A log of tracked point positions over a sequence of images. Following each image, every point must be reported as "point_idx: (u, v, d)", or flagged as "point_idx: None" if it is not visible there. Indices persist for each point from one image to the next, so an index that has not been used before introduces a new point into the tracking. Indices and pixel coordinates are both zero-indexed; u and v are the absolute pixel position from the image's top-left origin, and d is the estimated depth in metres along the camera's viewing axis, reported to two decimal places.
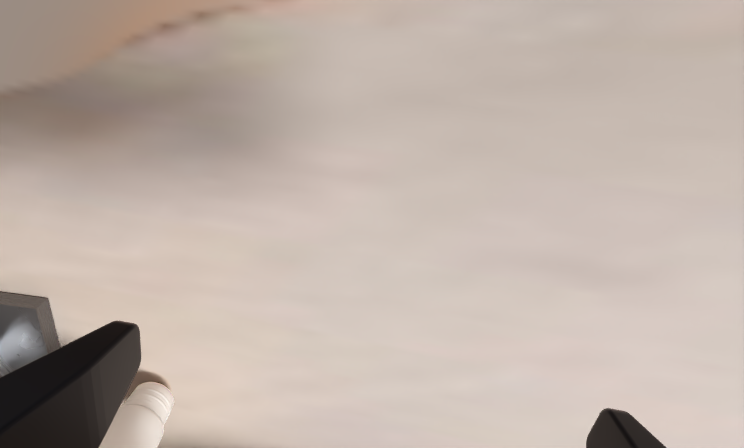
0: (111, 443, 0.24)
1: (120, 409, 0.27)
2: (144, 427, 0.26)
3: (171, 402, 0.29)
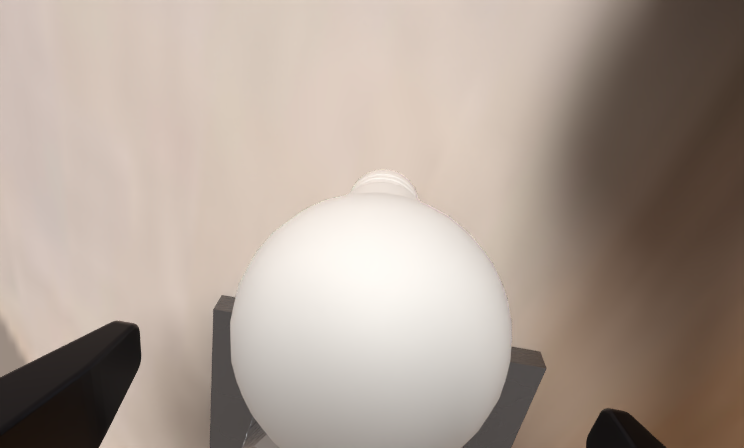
0: None
1: None
2: None
3: (386, 172, 0.16)
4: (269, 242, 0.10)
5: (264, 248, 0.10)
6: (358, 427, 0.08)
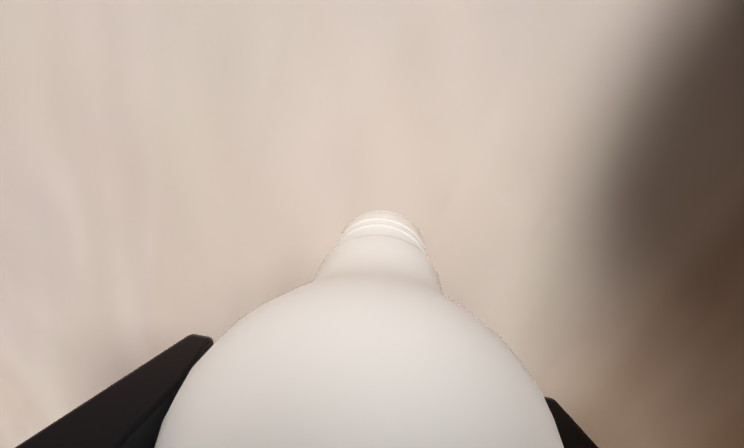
0: None
1: None
2: (328, 266, 0.10)
3: (384, 214, 0.13)
4: (202, 370, 0.06)
5: (194, 379, 0.06)
6: None
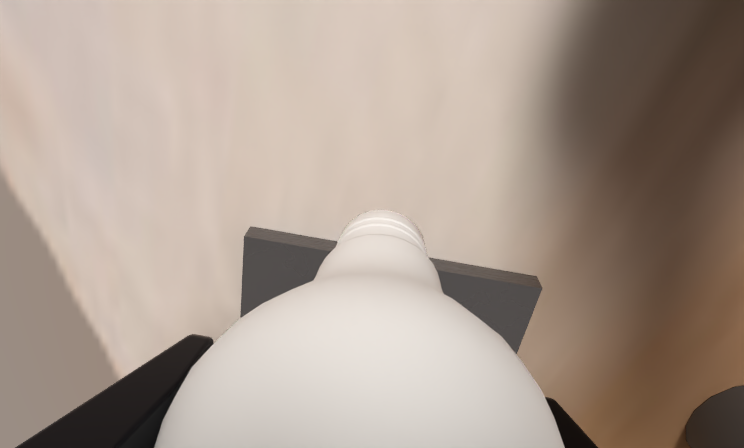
0: None
1: None
2: (328, 265, 0.10)
3: (384, 214, 0.13)
4: (202, 369, 0.06)
5: (194, 378, 0.06)
6: None
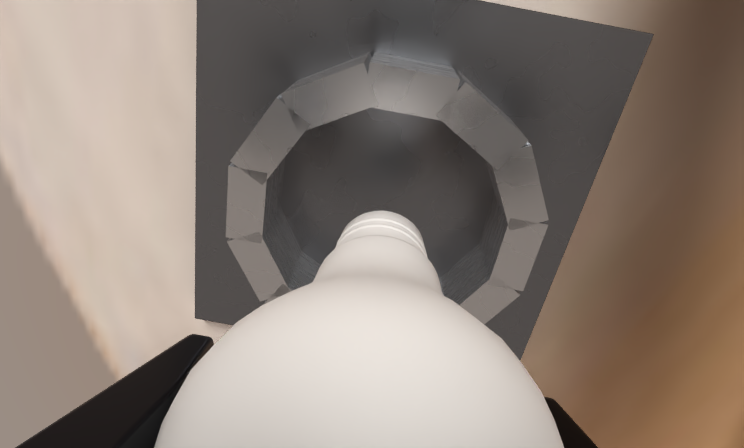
0: None
1: None
2: (328, 266, 0.10)
3: (384, 215, 0.13)
4: (202, 372, 0.06)
5: (194, 381, 0.06)
6: None
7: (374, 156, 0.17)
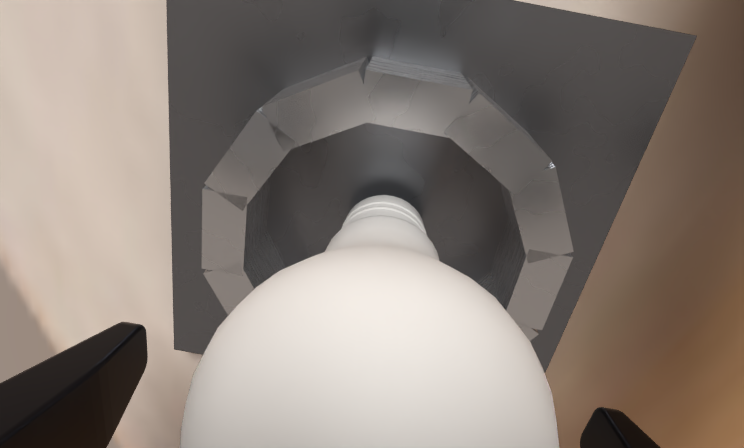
0: None
1: None
2: (335, 244, 0.11)
3: (386, 199, 0.14)
4: (230, 324, 0.07)
5: (223, 333, 0.07)
6: None
7: (372, 174, 0.15)
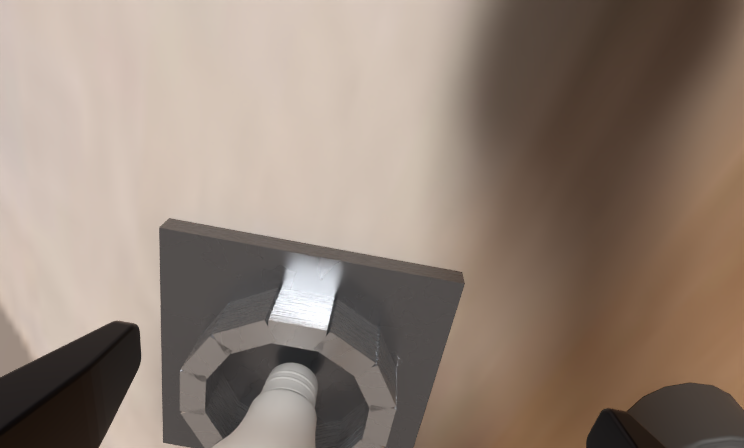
0: None
1: None
2: (251, 411, 0.20)
3: (291, 367, 0.23)
4: None
5: None
6: None
7: (286, 346, 0.24)
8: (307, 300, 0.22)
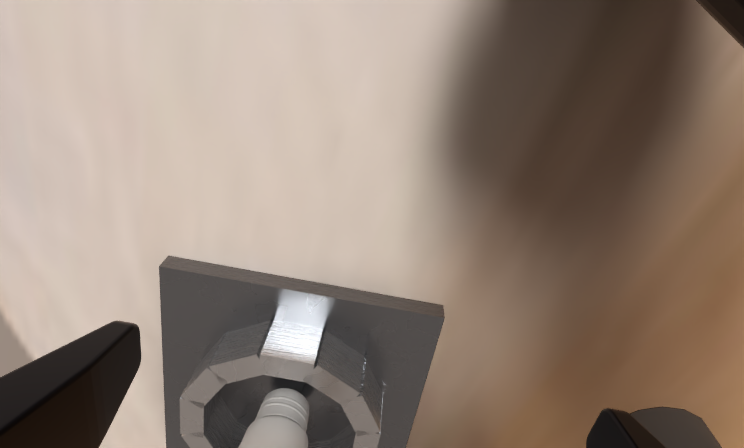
0: None
1: None
2: (247, 437, 0.22)
3: (284, 393, 0.24)
4: None
5: None
6: None
7: None
8: (297, 333, 0.23)
